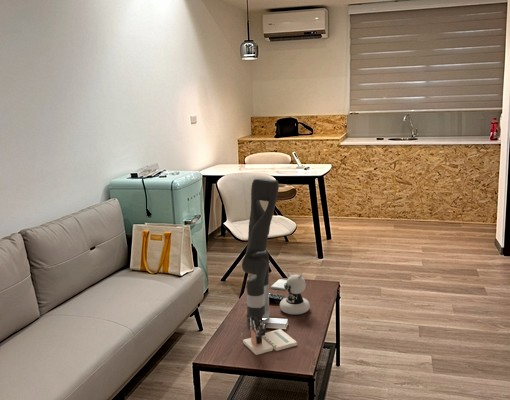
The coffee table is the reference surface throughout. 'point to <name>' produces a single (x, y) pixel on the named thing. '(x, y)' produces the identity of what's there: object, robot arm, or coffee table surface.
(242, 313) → the coffee table surface
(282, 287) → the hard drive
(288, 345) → the board
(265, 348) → the block on cream base
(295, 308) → the decorative figurine
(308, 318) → the coffee table surface
